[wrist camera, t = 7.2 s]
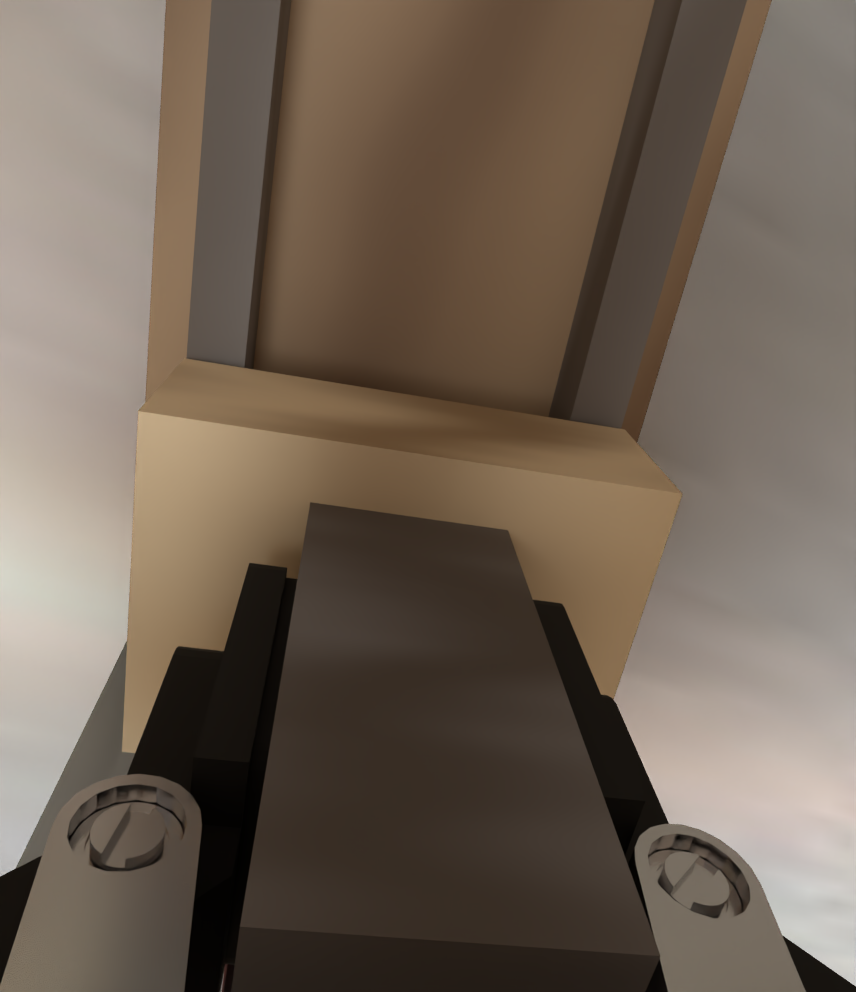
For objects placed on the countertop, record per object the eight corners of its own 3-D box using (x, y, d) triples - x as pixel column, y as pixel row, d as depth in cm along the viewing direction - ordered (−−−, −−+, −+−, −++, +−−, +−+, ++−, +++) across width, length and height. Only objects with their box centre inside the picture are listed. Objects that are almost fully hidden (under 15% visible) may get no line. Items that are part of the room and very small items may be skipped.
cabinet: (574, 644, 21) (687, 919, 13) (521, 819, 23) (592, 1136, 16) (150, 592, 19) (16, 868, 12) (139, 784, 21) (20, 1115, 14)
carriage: (624, 429, 15) (1030, 884, 6) (547, 692, 17) (748, 1314, 8) (184, 358, 14) (-178, 775, 5) (164, 648, 16) (-106, 1310, 7)
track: (907, -579, 12) (1066, -792, 9) (501, 817, 23) (519, 909, 20) (235, -819, 11) (188, -1149, 8) (139, 784, 21) (105, 878, 19)
